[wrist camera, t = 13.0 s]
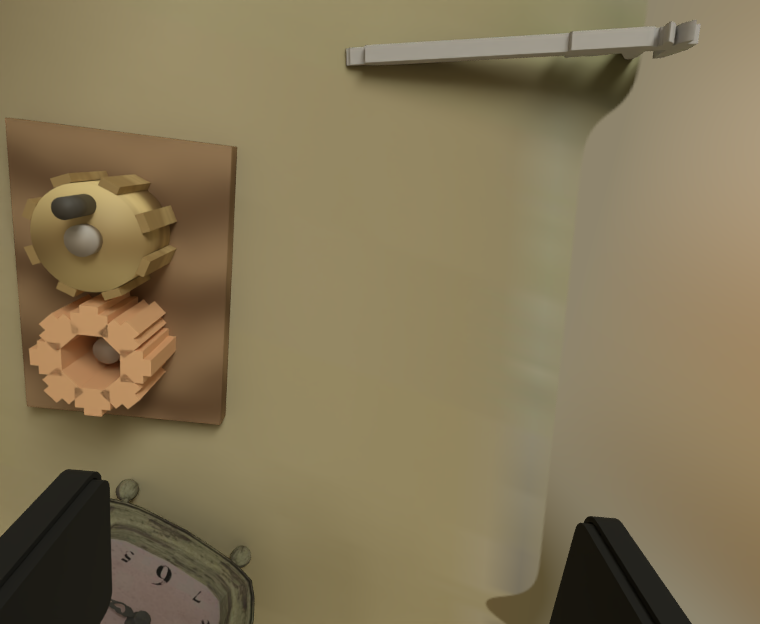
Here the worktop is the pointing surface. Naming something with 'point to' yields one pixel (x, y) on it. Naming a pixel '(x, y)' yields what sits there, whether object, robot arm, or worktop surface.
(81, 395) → the terracotta gear
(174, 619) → the tabletop clock
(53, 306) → the gear board
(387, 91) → the worktop surface
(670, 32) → the caliper
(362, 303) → the worktop surface
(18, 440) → the worktop surface
